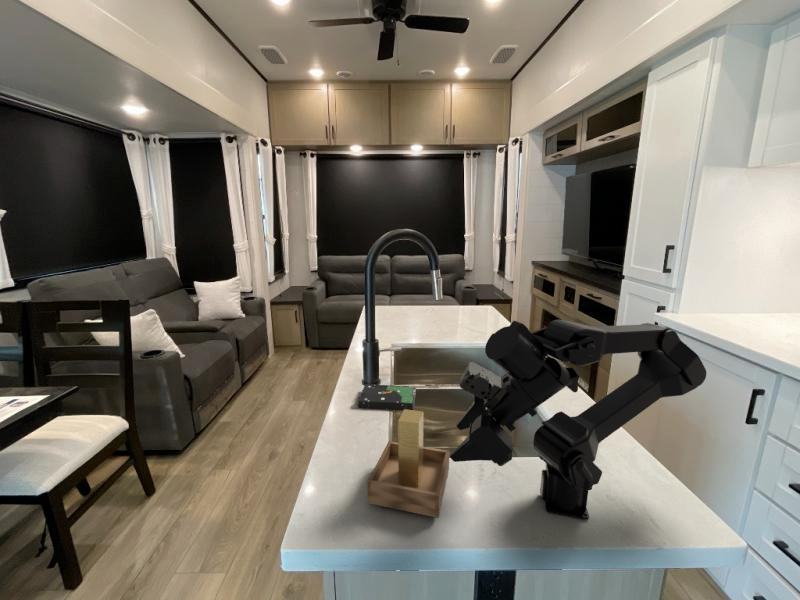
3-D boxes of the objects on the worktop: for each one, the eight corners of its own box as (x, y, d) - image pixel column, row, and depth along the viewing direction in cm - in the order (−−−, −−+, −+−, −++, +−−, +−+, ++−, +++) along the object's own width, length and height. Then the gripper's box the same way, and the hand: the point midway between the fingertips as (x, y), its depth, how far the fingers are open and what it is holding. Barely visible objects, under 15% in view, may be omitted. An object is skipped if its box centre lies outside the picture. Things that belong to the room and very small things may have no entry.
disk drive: (357, 410, 93) (414, 412, 92) (357, 401, 93) (414, 402, 92) (365, 392, 104) (415, 394, 102) (364, 384, 103) (415, 385, 102)
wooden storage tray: (448, 474, 68) (449, 450, 67) (438, 523, 57) (439, 495, 56) (388, 463, 71) (388, 441, 70) (367, 508, 60) (367, 481, 59)
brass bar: (422, 472, 65) (423, 411, 63) (418, 487, 61) (418, 423, 59) (404, 468, 66) (404, 409, 64) (398, 483, 62) (398, 420, 60)
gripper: (492, 333, 65) (432, 384, 70) (490, 373, 47) (409, 437, 52) (536, 379, 64) (471, 426, 69) (550, 436, 46) (462, 494, 51)
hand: (455, 442), depth 60 cm, fingers open, 9 cm apart
